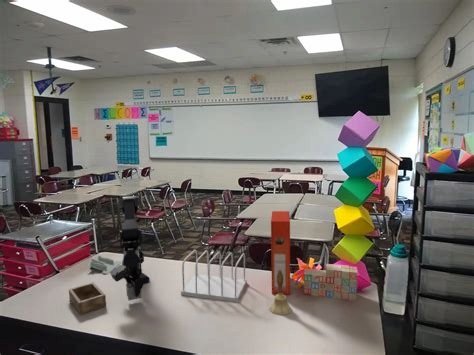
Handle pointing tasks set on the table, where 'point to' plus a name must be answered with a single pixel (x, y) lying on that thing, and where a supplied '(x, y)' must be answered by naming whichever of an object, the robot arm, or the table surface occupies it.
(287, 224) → the file binder
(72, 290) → the open wooden box
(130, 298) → the dice cube
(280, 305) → the hand bell
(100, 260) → the metal bracket
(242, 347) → the table surface
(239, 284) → the file sorter
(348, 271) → the stack of blocks
